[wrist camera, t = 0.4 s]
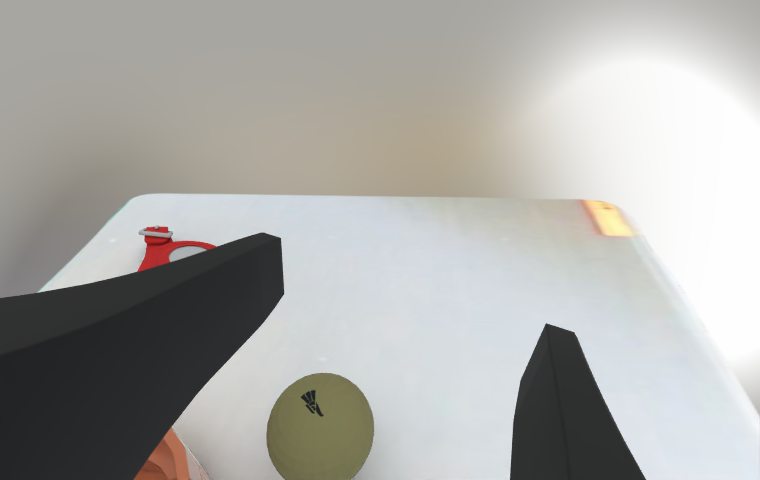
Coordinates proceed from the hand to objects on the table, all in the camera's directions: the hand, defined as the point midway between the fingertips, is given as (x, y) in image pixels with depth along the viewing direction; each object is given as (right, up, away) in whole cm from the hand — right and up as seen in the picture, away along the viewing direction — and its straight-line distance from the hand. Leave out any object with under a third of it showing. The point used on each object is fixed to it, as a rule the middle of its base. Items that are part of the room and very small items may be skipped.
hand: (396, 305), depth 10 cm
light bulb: (-4, -14, +15) cm, 21 cm away
